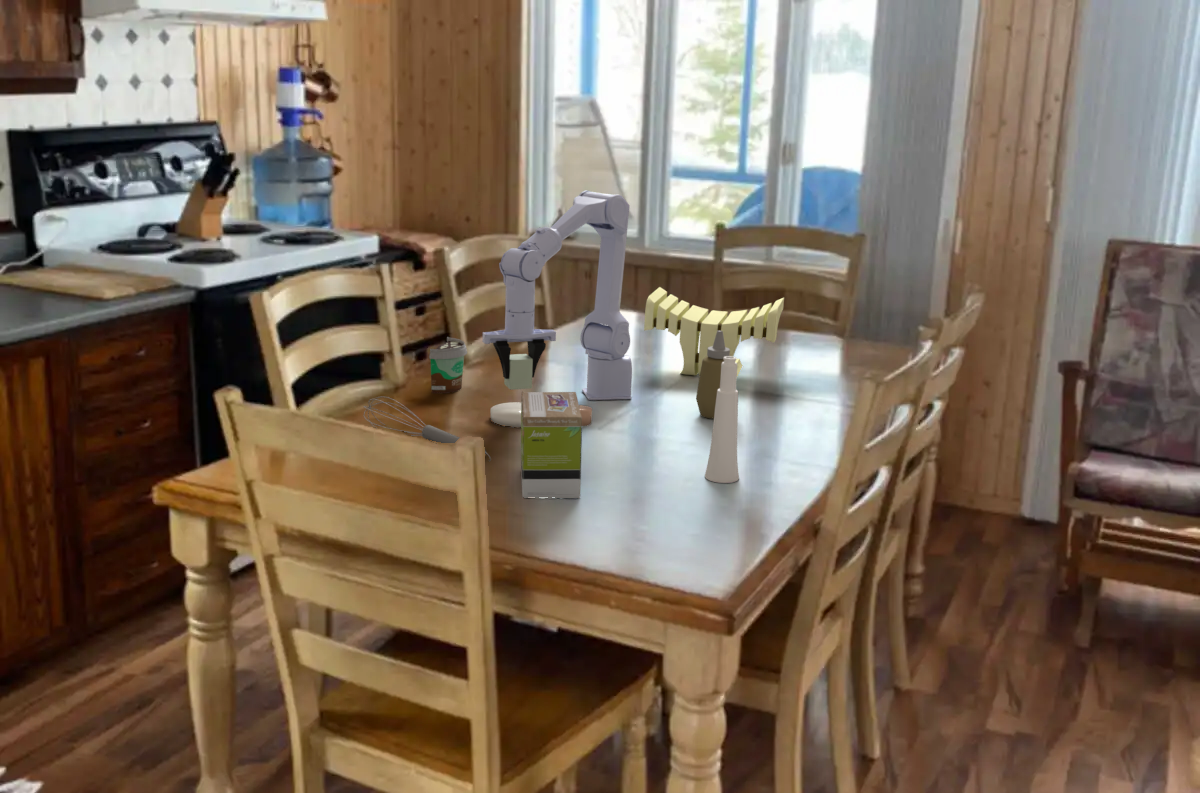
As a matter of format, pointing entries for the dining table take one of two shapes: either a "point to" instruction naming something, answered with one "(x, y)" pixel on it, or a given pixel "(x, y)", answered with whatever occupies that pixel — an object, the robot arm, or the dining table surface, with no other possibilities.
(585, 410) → the tan rounded knob
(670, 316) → the slatted curved stool
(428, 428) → the kitchen whisk
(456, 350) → the food container
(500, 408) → the stand
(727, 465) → the cosmetic bottle
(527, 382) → the sage block
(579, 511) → the dining table surface
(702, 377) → the squeeze bottle
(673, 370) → the dining table surface
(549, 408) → the tea box
